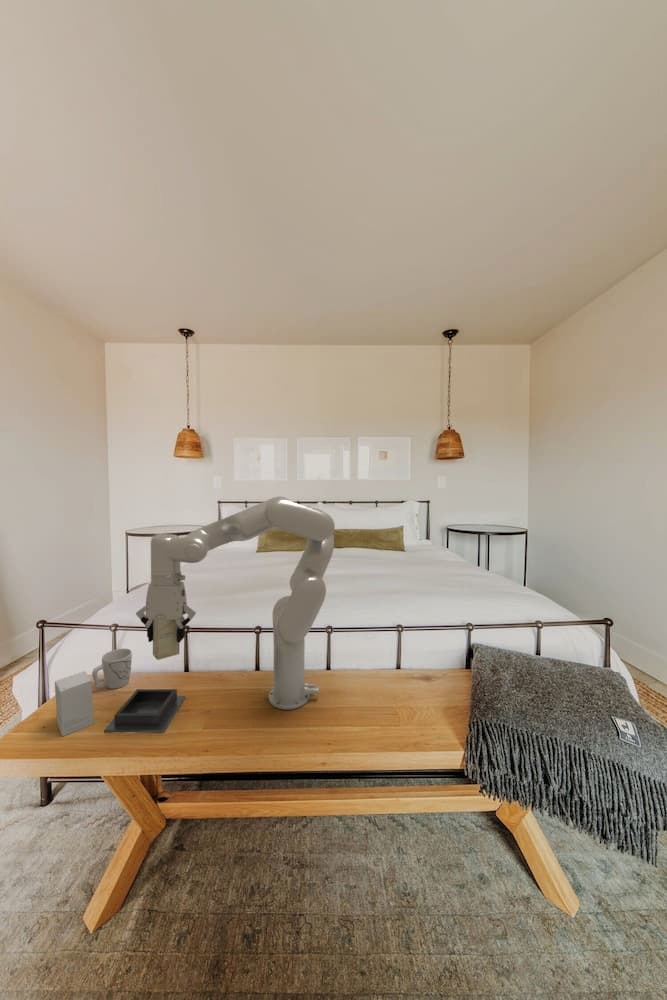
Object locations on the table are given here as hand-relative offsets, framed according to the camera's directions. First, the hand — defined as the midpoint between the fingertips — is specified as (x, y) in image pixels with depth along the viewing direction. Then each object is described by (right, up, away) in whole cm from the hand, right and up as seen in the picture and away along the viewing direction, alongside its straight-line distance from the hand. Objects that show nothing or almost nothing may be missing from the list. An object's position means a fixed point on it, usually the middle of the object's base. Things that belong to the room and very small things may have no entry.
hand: (166, 639), depth 105 cm
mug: (-24, -21, +16) cm, 36 cm away
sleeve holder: (-6, -22, +2) cm, 23 cm away
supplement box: (-24, -23, -2) cm, 33 cm away
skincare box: (0, -5, 0) cm, 5 cm away
